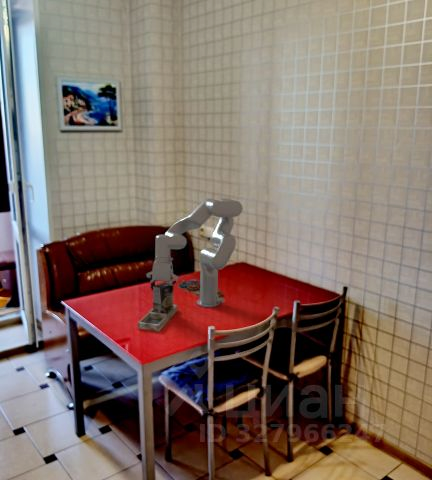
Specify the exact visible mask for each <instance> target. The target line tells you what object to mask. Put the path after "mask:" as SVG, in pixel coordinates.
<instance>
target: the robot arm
mask: <svg viewBox="0 0 432 480" xmlns="http://www.w3.org/2000/svg"><path fill="white" fill-rule="evenodd" d="M242 212H243V205H242V203H241V201H238V200H234V199H230V198H226V197H225V198H220V199H213V198H206V199H204V200H203V201H202V202H201V203H200V204H199V205H198V206H197V207H196V208H195V209H194V210H193V211H192V212H191V213H190V214H189V215H188V216H186V217H184V218H182V219H180V220H179V221H177V222H175V223H174V224H172V225H171V226H170V228H168V230H167V231H166V232H165V233H164V234H157V235H156V236H155V245H154V247H155V248H154V250H155V251H154V253H155V254H154V255H155V257H154V262H153V264H152V270H151V271H150V272H147V273H146V274H145V276H146V277H147V280H148V281H149V283H150V289H151V291H152V292H153V286H155V285H156V282H155V281H158V282H166V283H169V284H170V286H169V293H171V292H172V291H173V292H174V285H175V284H176V283H177V282H178V280H179V278H180V277H179V276H177V275H176V274H174V269H173V268H174V267H173V260H174V258H173V257H171V250H181V249H184V248H185V247H186V245H187V244H188V243H187V238H186V237H185V236H184V235H183V234H184V233H186V232H188V231H193V230H196V229H197V230H198V229H200V228H201V227H202V226H203V225H204V224H205V223H206V222H207V221H208V220H209V219H210V218H211V217H216V218H218V222H217V223H216V224H217V225H216V226H215V228H214V230H213V232H212V234H211V236H210V239H209V243H210V245H211V246H212V247H214V248H216V249H214V248H212V247H204V248H202V249H201V250H200V252H199V255H198V261H199V267H200V268H199V269H200V276H199V277H200V280H199V281H200V295H199V298H198V300H197V301H196V303H197V305H198V306H200V307H203V308H215V307H217V306H219V305H220V304H223V303H225V299H224V297H220V296H219V295H217V289H218V283H219V282H218V281H219V280H218V279H219V278H218V276H219V270H222V269H224V268H225V267H226V266H227V265H228V262H229V260H230V259H231V257H232V255H233V252H234V251H235V250H236V249H235V248H236V244H237V240H236V237H235V236H234V235H233V234H231V233H232V230H233V227H234V223H235V222H234V221H235V220H234V218H235V217H238V216H240V215H241V214H242ZM173 278H174V279H173Z"/></svg>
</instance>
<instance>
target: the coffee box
mask: <svg viewBox="0 0 432 480" xmlns="http://www.w3.org/2000/svg"><path fill="white" fill-rule="evenodd" d="M169 286H170V284H169V282H165V281H163V282H161V283H158V284H155V286H153V291H152V308H153V312H154V313H162V314H168V313H169V312H170V311H171V310H172V309H173V305H174V290H173V291H172V292H171V293H169Z"/></svg>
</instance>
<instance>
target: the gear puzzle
mask: <svg viewBox="0 0 432 480" xmlns="http://www.w3.org/2000/svg"><path fill="white" fill-rule="evenodd" d="M177 288H178V289H180V290H181V289H183V290H185V291H186V292H187V293H189V292H190V293H193V294H194V295H195V296H200V280H199V279H195V278H194V279H190V280H188V281H187V282H186V280H184V279H183V280H182V281H181V283H179V284H178V285H177ZM217 295H219V297H222V296H224V292H223V291H220V290H219V289H218V288H217Z"/></svg>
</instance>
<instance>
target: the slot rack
mask: <svg viewBox="0 0 432 480" xmlns="http://www.w3.org/2000/svg"><path fill="white" fill-rule="evenodd" d="M178 307H179V306H178V305H177V304H173V309H172V310H171V311H170V312H169V313H168V314H162V313H154V312H153V307H152V308H151V309H150V310H149V311H148V312H147V313H146V314H145V315H144V316H143V317H141V319H140V320H139V321H138V322H137V329H138V330H139V329H140V330H148V331H153V332H155V331H156V332H160V331H161V330H162V329H163V328H164V327H165V325H166V324H167V323H168V322H169V321H170V320H171V319H172V318H173V316H174V315H175V314H176V313H177V312H178V310H179V309H178Z"/></svg>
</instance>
